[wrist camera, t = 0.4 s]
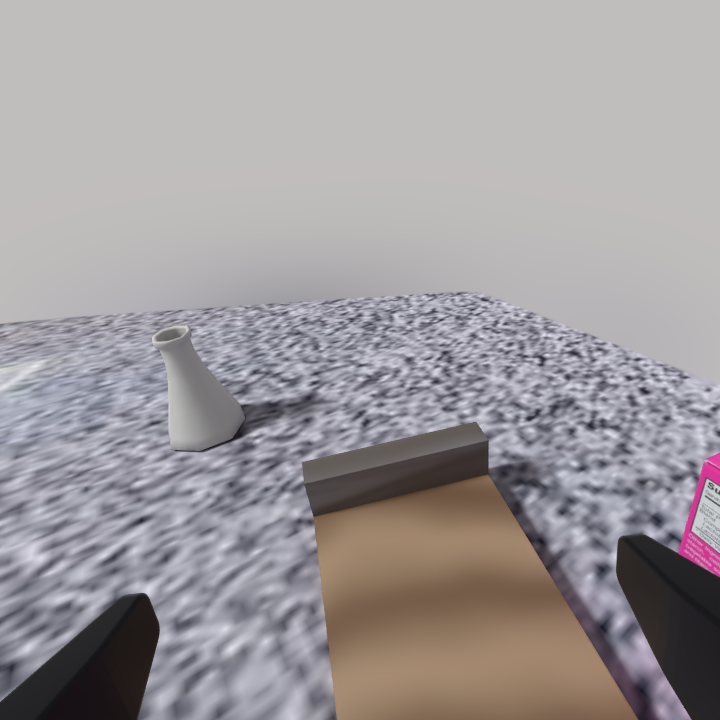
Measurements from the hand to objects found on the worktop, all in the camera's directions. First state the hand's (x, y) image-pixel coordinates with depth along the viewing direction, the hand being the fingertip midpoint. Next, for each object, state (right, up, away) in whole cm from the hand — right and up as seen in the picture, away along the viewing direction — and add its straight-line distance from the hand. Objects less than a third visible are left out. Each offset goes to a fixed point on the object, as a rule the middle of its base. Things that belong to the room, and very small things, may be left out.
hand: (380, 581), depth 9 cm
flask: (-15, -2, +34) cm, 37 cm away
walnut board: (+4, -10, +15) cm, 19 cm away
